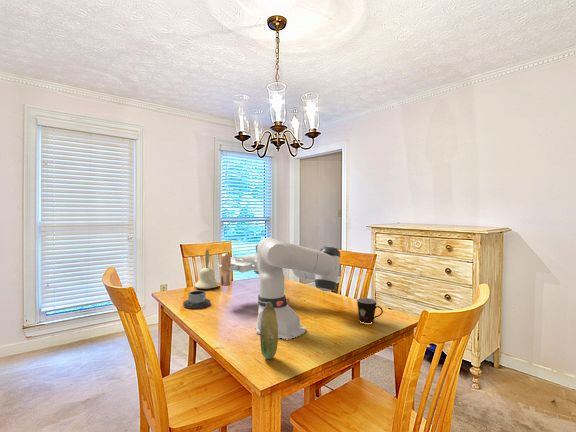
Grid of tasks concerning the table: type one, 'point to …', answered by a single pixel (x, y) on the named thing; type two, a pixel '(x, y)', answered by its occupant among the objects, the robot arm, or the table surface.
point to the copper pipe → (225, 269)
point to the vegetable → (269, 331)
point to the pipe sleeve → (196, 300)
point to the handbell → (206, 275)
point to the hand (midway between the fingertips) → (224, 267)
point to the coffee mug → (367, 309)
